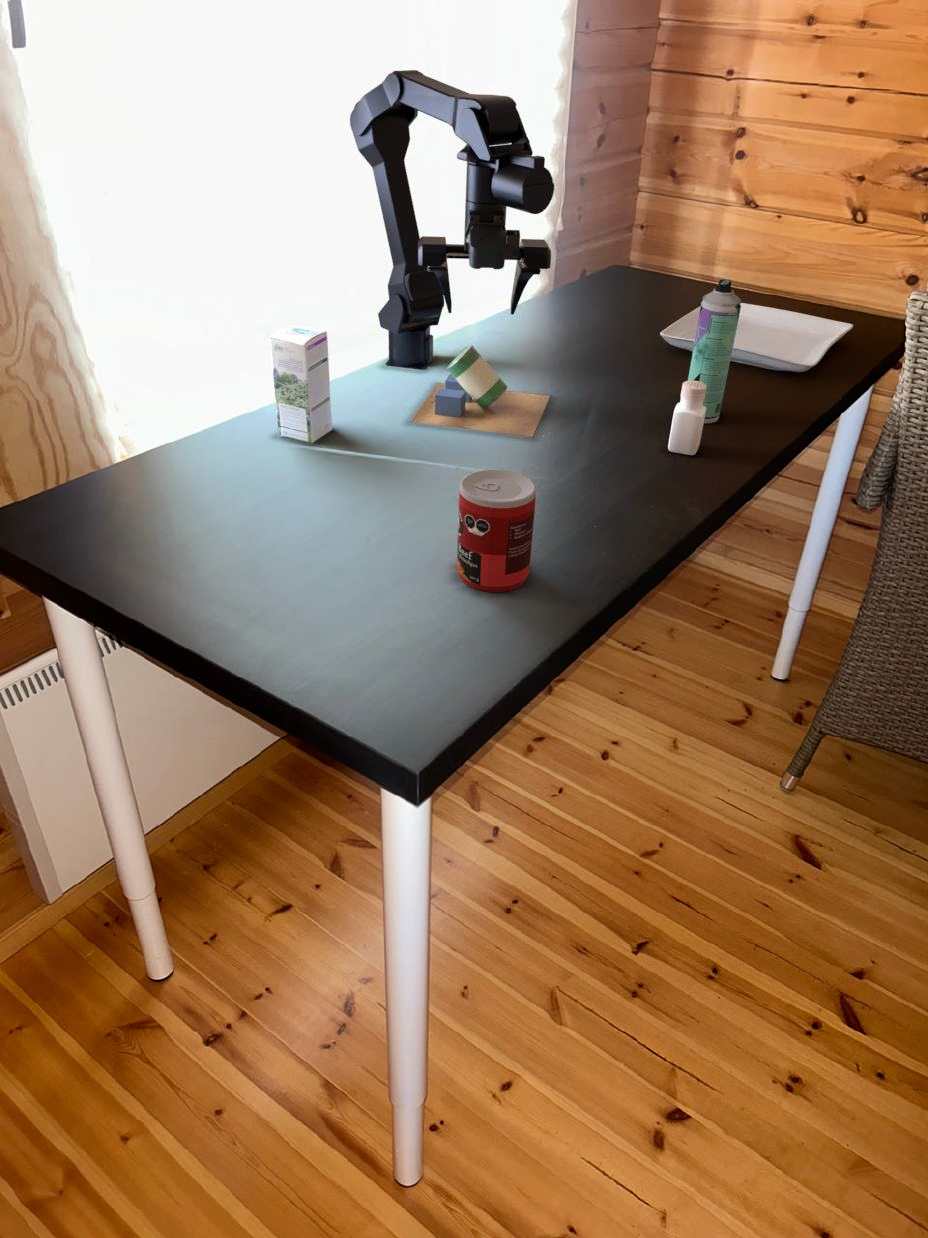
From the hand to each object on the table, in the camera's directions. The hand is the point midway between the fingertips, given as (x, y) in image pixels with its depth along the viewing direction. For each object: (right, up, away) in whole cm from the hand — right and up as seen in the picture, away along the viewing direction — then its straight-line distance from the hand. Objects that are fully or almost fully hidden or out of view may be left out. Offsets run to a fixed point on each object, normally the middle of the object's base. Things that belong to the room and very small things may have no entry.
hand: (481, 312), depth 140 cm
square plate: (+50, +4, +31) cm, 59 cm away
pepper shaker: (+28, -21, -7) cm, 36 cm away
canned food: (+1, -40, -35) cm, 54 cm away
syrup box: (-25, -19, -6) cm, 32 cm away
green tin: (-1, -13, +2) cm, 14 cm away
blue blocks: (-4, -13, +3) cm, 14 cm away
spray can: (+33, -15, +4) cm, 36 cm away
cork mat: (0, -14, +3) cm, 14 cm away
